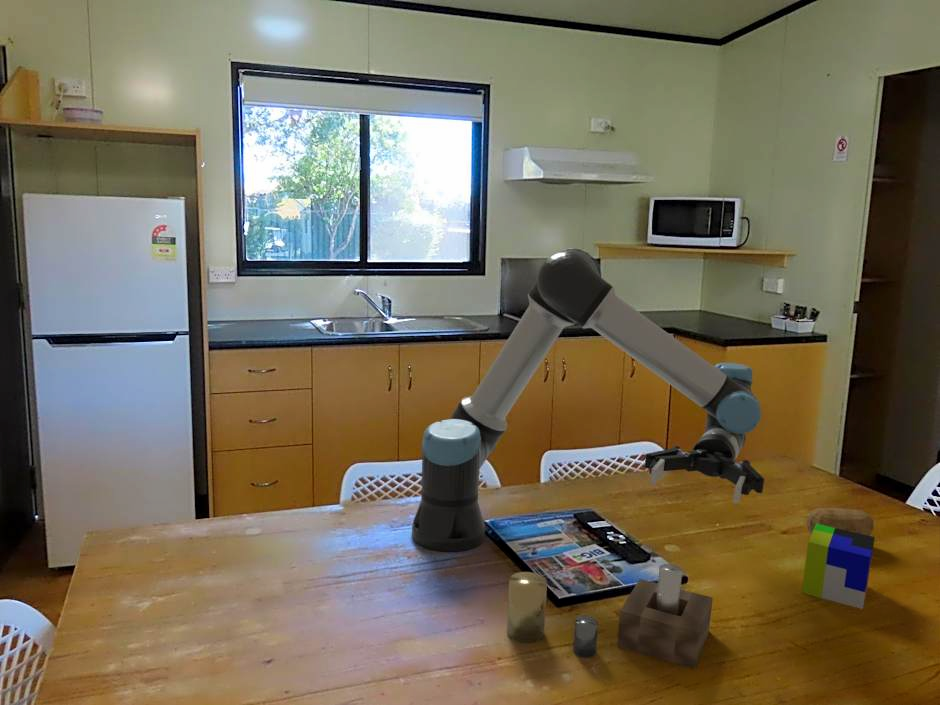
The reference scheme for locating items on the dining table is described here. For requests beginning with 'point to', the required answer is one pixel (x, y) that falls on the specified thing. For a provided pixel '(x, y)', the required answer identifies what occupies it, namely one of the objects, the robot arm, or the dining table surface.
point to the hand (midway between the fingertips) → (693, 486)
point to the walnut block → (665, 625)
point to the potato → (841, 520)
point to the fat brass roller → (526, 607)
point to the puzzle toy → (838, 565)
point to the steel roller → (669, 589)
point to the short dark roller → (585, 636)
